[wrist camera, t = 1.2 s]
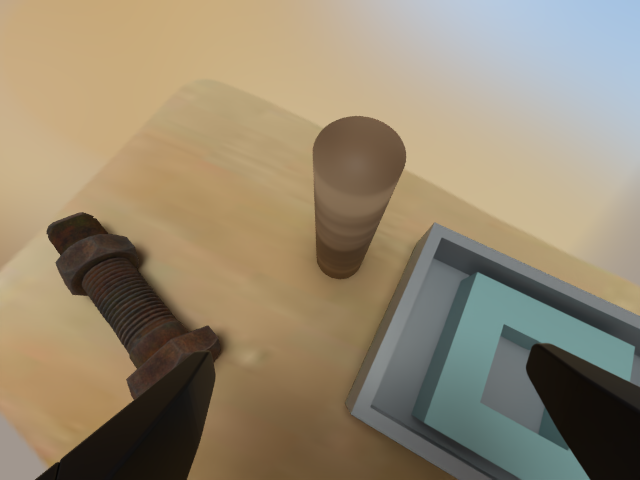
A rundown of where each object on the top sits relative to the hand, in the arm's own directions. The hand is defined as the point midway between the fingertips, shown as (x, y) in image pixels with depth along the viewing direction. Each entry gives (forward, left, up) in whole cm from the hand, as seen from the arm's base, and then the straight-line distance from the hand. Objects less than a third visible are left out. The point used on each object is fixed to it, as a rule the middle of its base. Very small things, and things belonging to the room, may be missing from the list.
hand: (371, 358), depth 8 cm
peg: (+7, +3, -14) cm, 15 cm away
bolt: (-3, +15, -14) cm, 21 cm away
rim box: (+4, -11, -14) cm, 18 cm away
